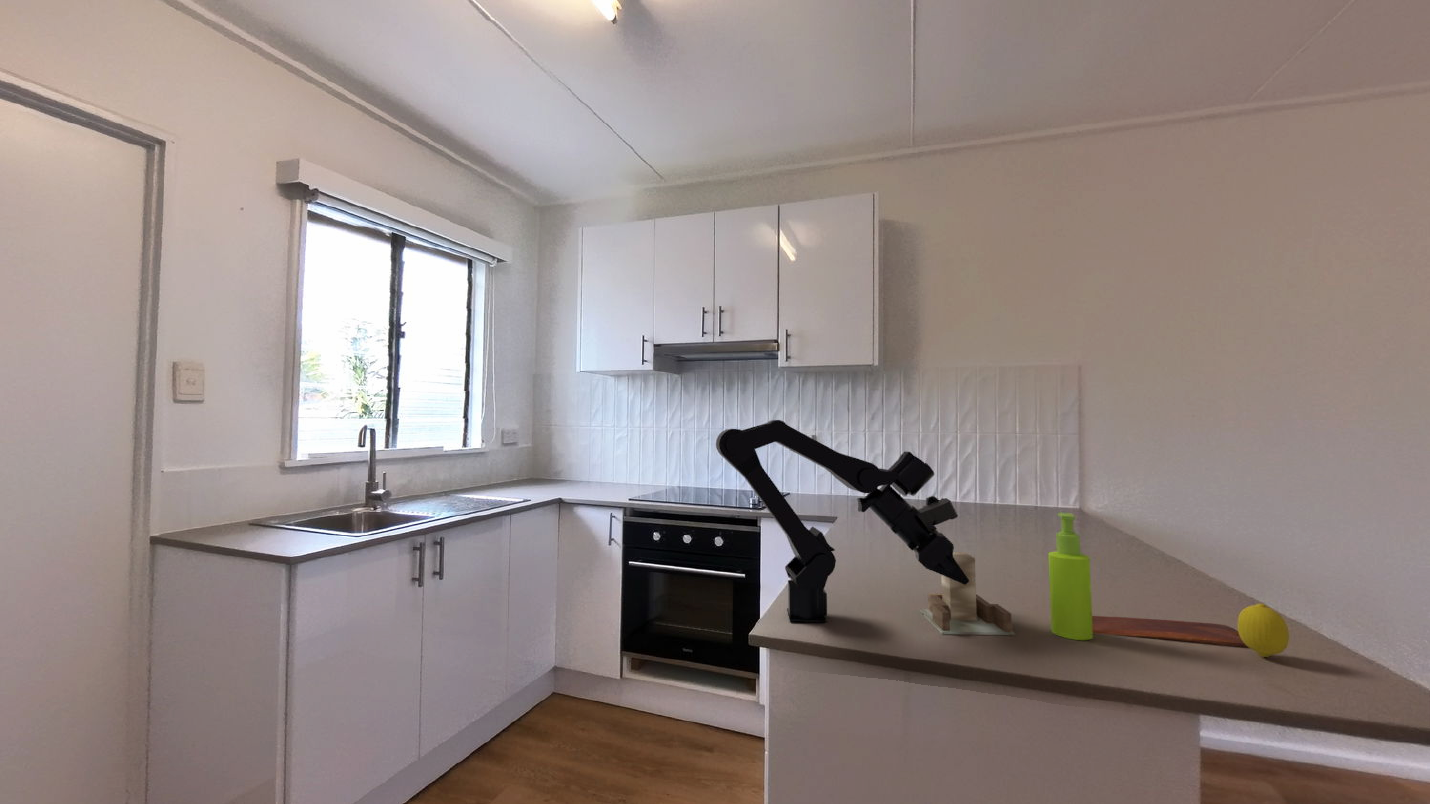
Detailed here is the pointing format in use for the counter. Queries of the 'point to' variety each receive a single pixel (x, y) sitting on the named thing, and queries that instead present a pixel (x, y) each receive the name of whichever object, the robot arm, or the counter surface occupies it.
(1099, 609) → the counter surface
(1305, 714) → the counter surface
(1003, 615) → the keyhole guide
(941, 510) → the robot arm
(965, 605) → the birch post
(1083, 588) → the soap dispenser
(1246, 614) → the lemon
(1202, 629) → the wooden tablet
